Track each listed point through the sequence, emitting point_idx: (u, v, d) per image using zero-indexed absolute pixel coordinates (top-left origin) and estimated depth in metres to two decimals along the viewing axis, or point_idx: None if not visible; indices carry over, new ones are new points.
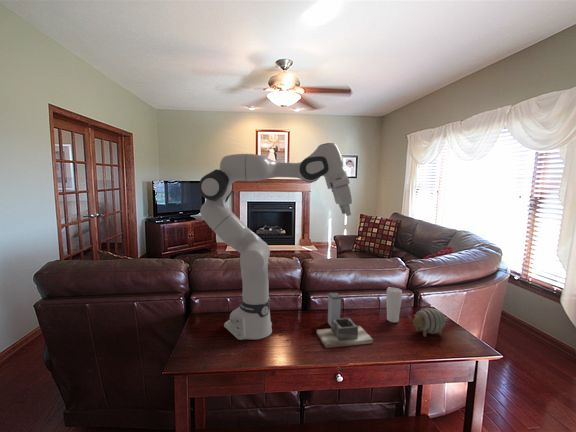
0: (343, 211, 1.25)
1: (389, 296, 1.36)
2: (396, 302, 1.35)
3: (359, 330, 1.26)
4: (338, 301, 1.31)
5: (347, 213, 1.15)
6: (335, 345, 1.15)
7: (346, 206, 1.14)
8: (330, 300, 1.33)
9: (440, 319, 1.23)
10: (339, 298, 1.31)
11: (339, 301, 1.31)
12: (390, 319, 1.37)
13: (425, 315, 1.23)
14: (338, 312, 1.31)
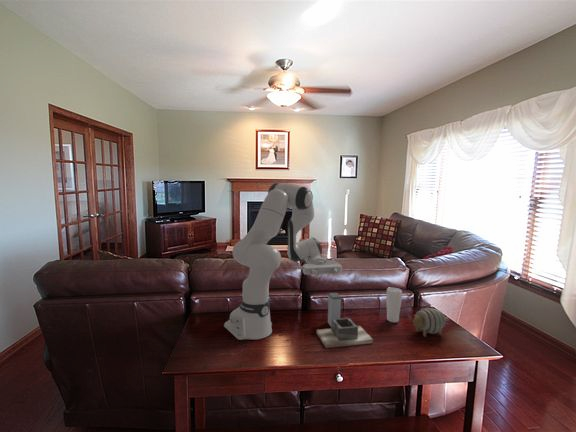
0: None
1: (389, 296, 1.36)
2: (396, 302, 1.35)
3: (359, 330, 1.26)
4: (338, 301, 1.31)
5: None
6: (335, 345, 1.15)
7: None
8: (330, 300, 1.33)
9: (440, 319, 1.23)
10: (339, 298, 1.31)
11: (339, 301, 1.31)
12: (390, 319, 1.37)
13: (425, 315, 1.23)
14: (338, 312, 1.31)
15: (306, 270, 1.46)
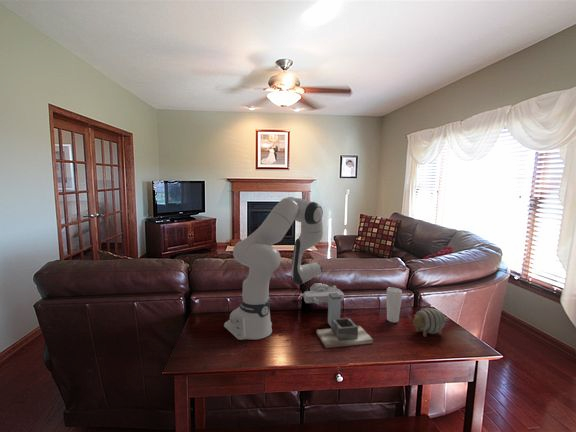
0: None
1: (389, 296, 1.36)
2: (396, 302, 1.35)
3: (359, 330, 1.26)
4: (338, 301, 1.31)
5: None
6: (335, 345, 1.15)
7: None
8: (330, 300, 1.33)
9: (440, 319, 1.23)
10: (339, 298, 1.31)
11: (339, 301, 1.31)
12: (390, 319, 1.37)
13: (425, 315, 1.23)
14: (338, 312, 1.31)
15: (307, 298, 1.43)
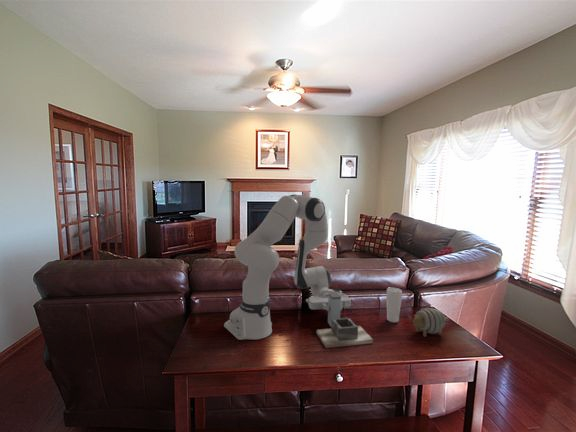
0: None
1: (389, 296, 1.36)
2: (396, 302, 1.35)
3: (359, 330, 1.26)
4: (338, 301, 1.31)
5: None
6: (335, 345, 1.15)
7: None
8: (330, 300, 1.33)
9: (440, 319, 1.23)
10: (339, 298, 1.31)
11: (339, 301, 1.31)
12: (390, 319, 1.37)
13: (425, 315, 1.23)
14: (338, 312, 1.31)
15: (312, 305, 1.35)
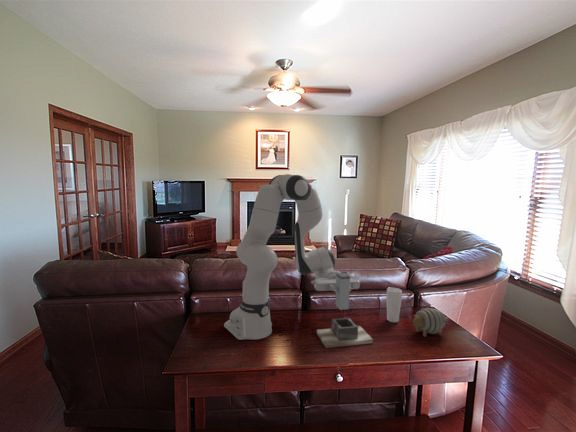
0: None
1: (389, 296, 1.36)
2: (396, 302, 1.35)
3: (359, 330, 1.26)
4: (347, 281, 1.21)
5: None
6: (335, 345, 1.15)
7: None
8: (338, 281, 1.23)
9: (440, 319, 1.23)
10: (348, 278, 1.21)
11: (348, 281, 1.21)
12: (390, 319, 1.37)
13: (425, 315, 1.23)
14: (347, 293, 1.22)
15: (319, 286, 1.25)
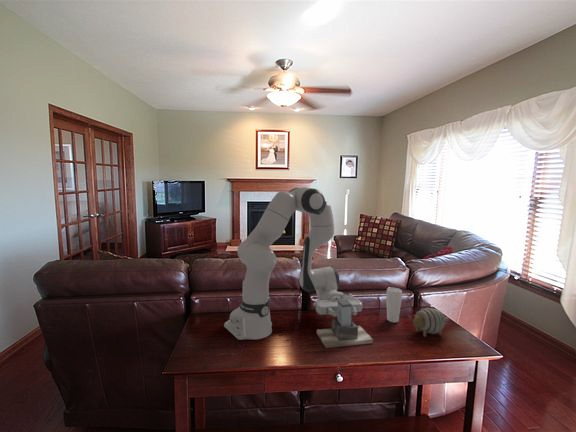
0: None
1: (389, 296, 1.36)
2: (396, 302, 1.35)
3: (359, 330, 1.26)
4: (349, 309, 1.19)
5: None
6: (335, 345, 1.15)
7: None
8: (339, 308, 1.21)
9: (440, 319, 1.23)
10: (349, 305, 1.19)
11: (350, 309, 1.19)
12: (390, 319, 1.37)
13: (425, 315, 1.23)
14: (349, 321, 1.19)
15: (321, 309, 1.23)
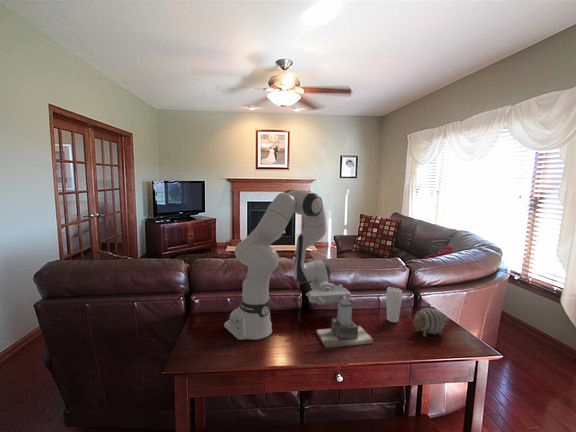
0: None
1: (389, 296, 1.36)
2: (396, 302, 1.35)
3: (359, 330, 1.26)
4: (349, 309, 1.19)
5: None
6: (335, 345, 1.15)
7: None
8: (340, 308, 1.21)
9: (440, 319, 1.23)
10: (350, 306, 1.19)
11: (350, 309, 1.19)
12: (390, 319, 1.37)
13: (425, 315, 1.23)
14: (349, 321, 1.19)
15: (312, 298, 1.35)
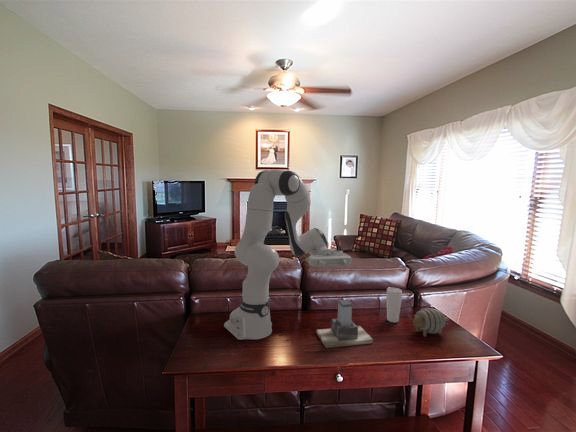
0: None
1: (389, 296, 1.36)
2: (396, 302, 1.35)
3: (359, 330, 1.26)
4: (349, 309, 1.19)
5: None
6: (335, 345, 1.15)
7: None
8: (340, 308, 1.21)
9: (440, 319, 1.23)
10: (350, 306, 1.19)
11: (350, 309, 1.19)
12: (390, 319, 1.37)
13: (425, 315, 1.23)
14: (349, 321, 1.19)
15: (313, 261, 1.34)
